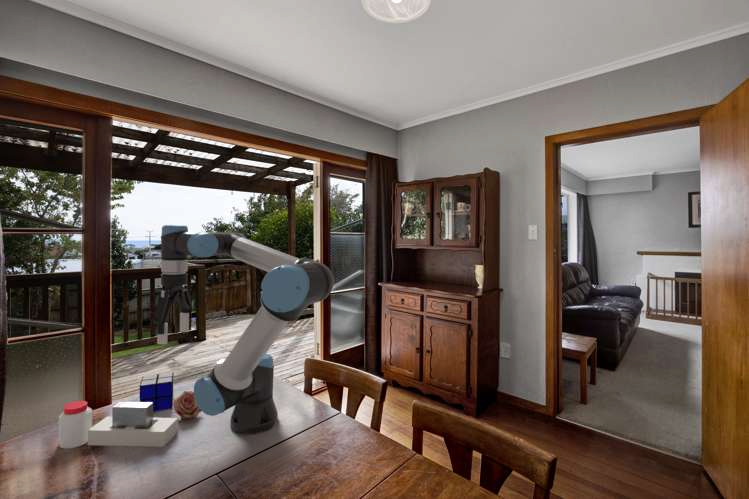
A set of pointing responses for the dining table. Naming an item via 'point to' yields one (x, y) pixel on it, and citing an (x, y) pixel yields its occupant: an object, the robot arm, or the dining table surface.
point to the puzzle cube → (157, 390)
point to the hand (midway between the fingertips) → (174, 337)
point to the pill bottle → (74, 424)
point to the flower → (186, 405)
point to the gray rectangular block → (132, 415)
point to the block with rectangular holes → (133, 433)
